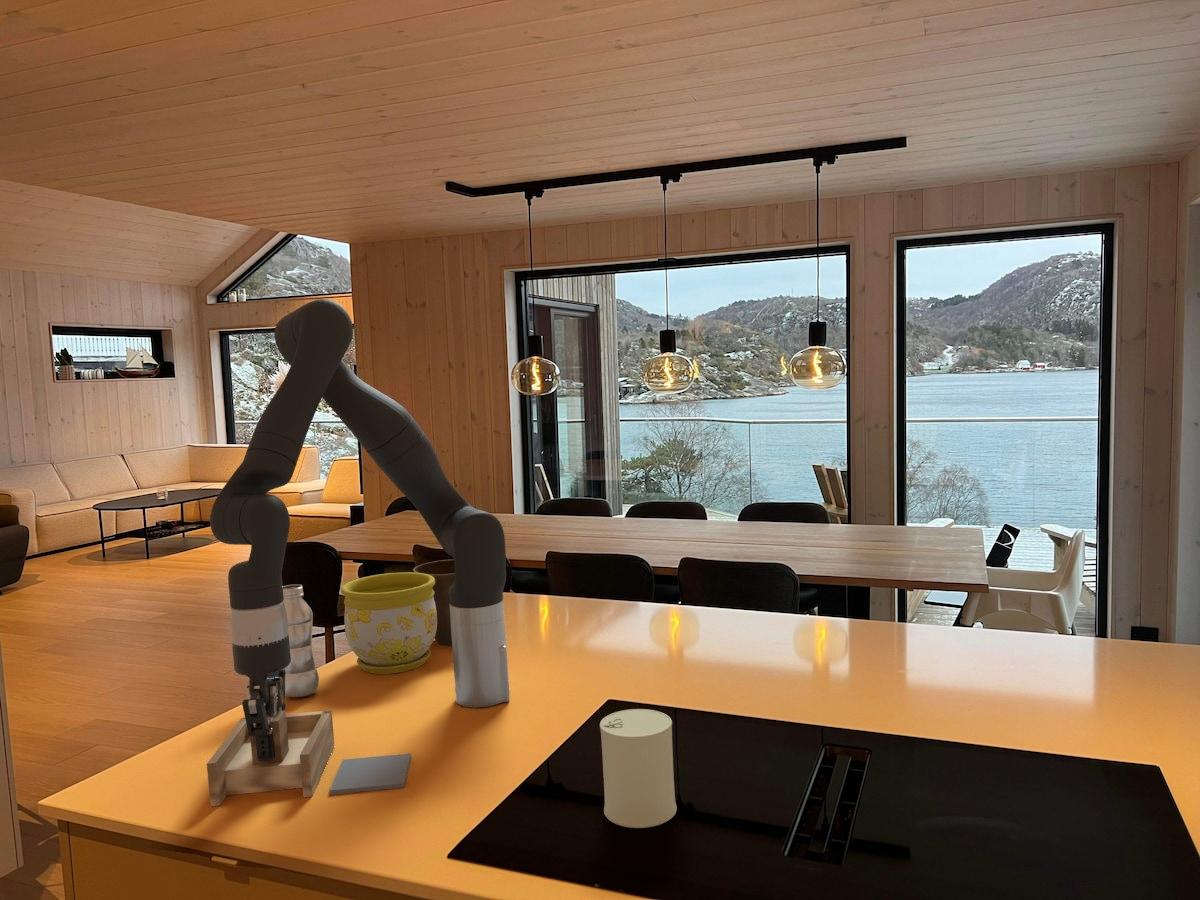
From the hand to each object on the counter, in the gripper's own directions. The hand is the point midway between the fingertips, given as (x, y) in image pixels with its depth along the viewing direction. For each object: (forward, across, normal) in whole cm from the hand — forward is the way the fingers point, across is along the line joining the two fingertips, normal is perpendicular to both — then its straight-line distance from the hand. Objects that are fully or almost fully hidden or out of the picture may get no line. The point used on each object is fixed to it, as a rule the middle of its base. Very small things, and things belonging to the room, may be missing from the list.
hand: (270, 752), depth 129 cm
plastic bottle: (+4, +36, +4) cm, 36 cm away
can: (+5, -19, -50) cm, 54 cm away
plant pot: (+5, +63, -22) cm, 67 cm away
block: (+1, 0, 0) cm, 1 cm away
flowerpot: (+5, +50, -11) cm, 51 cm away
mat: (+4, -1, -14) cm, 15 cm away
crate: (+4, +2, 0) cm, 5 cm away
